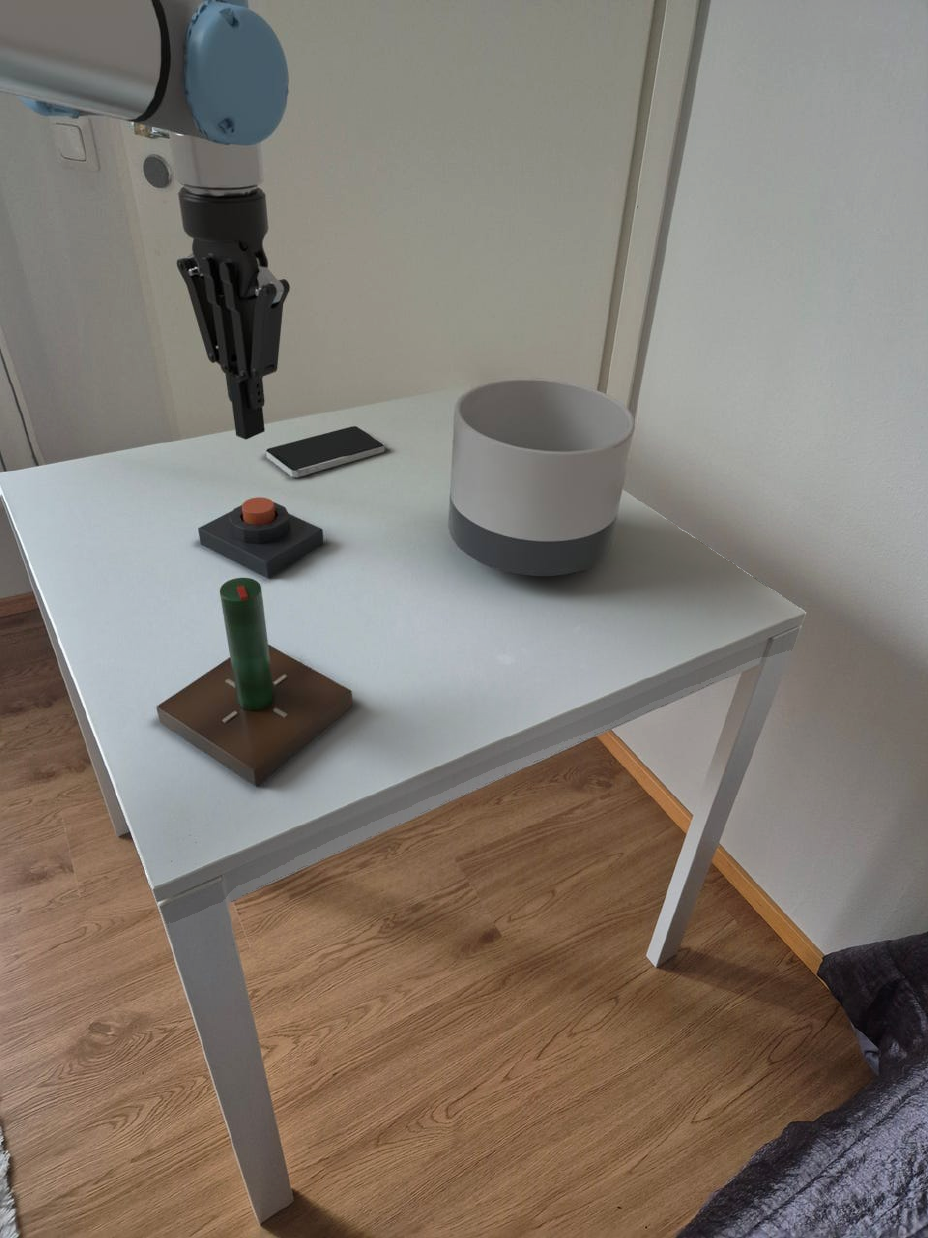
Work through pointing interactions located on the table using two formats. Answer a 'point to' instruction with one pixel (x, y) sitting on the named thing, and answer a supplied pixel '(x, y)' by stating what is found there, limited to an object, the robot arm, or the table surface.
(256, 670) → the dial knob
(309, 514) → the table surface
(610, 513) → the planter
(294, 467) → the smartphone
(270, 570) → the button box
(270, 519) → the button
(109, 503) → the table surface
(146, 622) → the table surface
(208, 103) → the robot arm
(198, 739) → the dial base
